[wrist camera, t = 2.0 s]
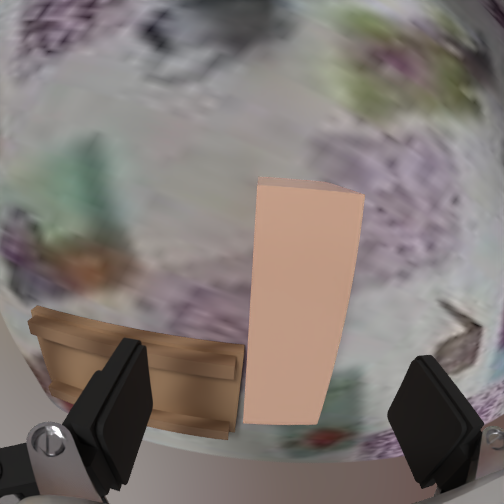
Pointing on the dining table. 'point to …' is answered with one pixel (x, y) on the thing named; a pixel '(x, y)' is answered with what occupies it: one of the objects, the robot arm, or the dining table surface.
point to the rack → (160, 369)
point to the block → (298, 296)
